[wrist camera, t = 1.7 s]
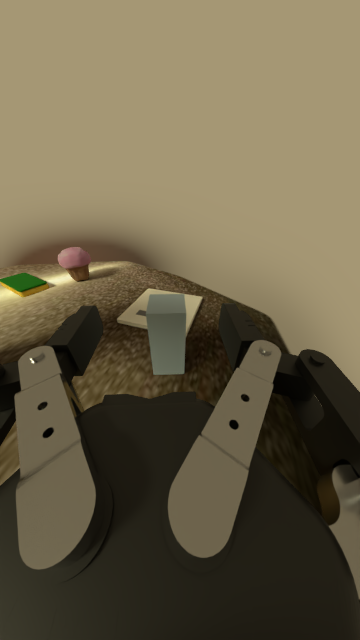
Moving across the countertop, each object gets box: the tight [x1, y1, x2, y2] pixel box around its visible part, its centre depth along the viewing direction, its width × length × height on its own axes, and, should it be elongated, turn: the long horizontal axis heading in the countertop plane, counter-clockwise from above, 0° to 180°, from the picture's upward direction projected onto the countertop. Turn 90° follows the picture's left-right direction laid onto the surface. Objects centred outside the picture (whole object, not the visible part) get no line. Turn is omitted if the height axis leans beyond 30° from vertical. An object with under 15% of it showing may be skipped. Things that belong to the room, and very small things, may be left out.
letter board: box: [117, 288, 202, 336], centre depth 44 cm, size 16×16×1 cm
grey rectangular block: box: [146, 294, 186, 375], centre depth 27 cm, size 5×5×12 cm
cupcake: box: [58, 247, 91, 281], centre depth 56 cm, size 9×9×10 cm
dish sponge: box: [0, 273, 49, 297], centre depth 54 cm, size 7×14×2 cm, turn 58°
